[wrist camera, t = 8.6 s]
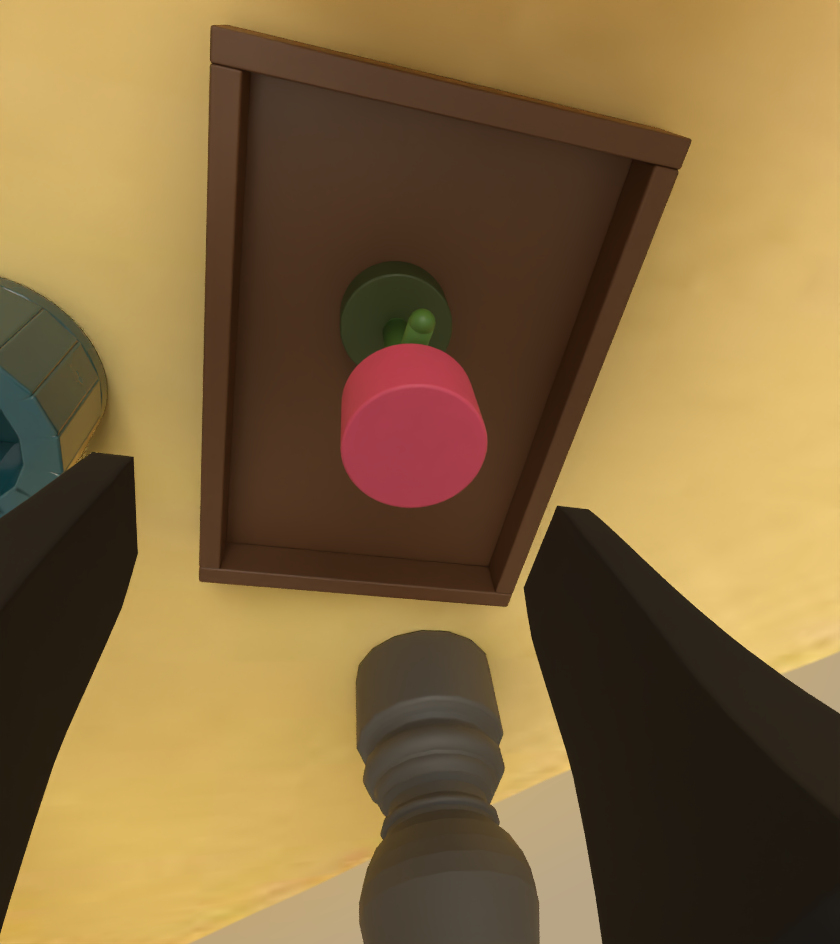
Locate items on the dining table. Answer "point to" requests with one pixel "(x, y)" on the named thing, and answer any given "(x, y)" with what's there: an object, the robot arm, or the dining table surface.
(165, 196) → the dining table surface
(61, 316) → the vase
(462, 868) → the candle holder
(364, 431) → the rose
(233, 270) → the tray
